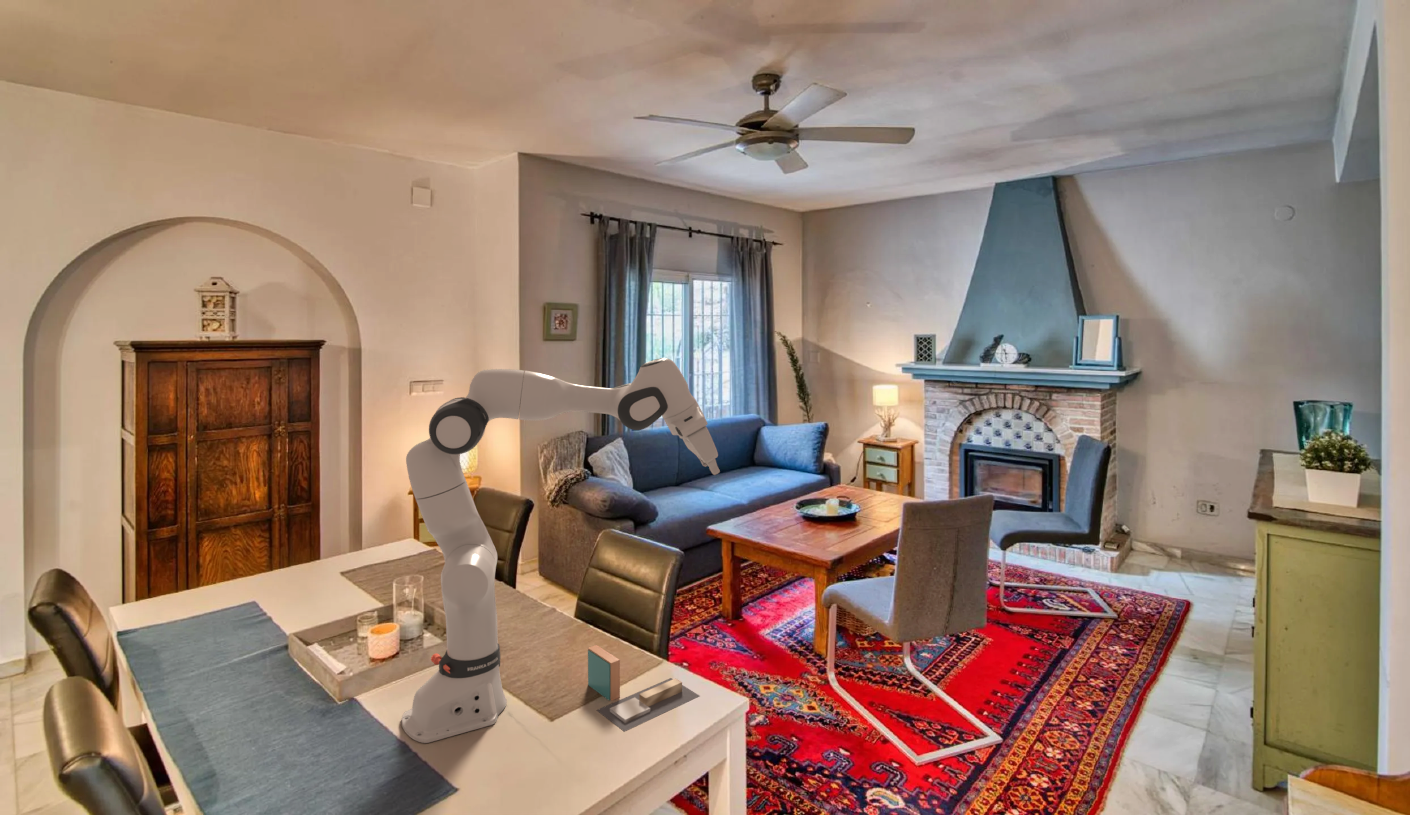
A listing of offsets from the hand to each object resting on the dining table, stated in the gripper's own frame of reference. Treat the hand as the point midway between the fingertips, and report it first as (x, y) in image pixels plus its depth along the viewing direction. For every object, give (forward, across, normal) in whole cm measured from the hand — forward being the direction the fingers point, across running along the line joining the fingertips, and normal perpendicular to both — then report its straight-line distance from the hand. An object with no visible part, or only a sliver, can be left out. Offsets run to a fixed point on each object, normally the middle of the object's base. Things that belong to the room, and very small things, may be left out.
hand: (711, 469), depth 164 cm
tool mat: (+40, +8, -40) cm, 57 cm away
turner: (+39, +8, -41) cm, 57 cm away
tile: (+35, 0, -49) cm, 60 cm away
